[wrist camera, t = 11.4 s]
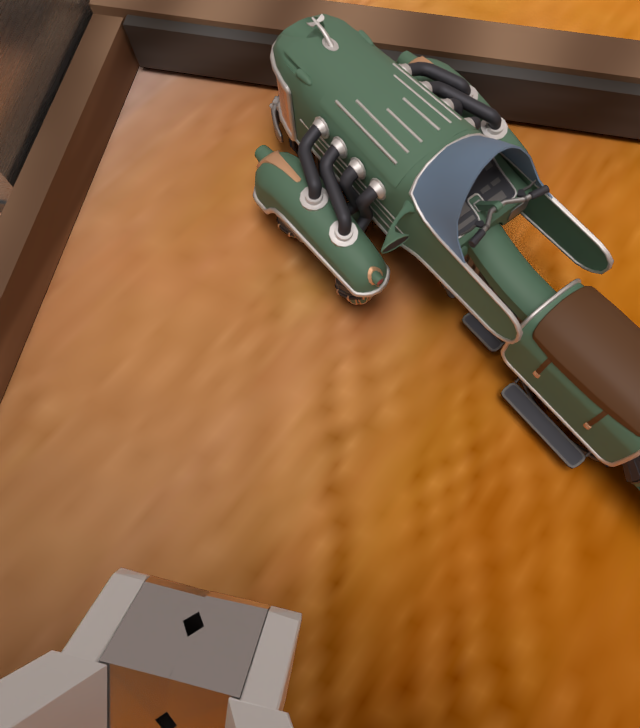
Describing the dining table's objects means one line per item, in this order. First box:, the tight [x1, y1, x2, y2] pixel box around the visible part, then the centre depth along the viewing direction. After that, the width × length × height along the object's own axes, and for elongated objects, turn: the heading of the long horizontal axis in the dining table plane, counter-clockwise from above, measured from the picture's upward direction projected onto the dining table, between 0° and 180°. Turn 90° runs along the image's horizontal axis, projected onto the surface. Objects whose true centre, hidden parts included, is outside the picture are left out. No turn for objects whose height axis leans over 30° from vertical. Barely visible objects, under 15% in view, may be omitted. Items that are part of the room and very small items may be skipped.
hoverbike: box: [253, 14, 640, 491], centre depth 22 cm, size 10×25×8 cm, turn 38°
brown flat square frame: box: [0, 0, 640, 402], centre depth 23 cm, size 30×32×3 cm
